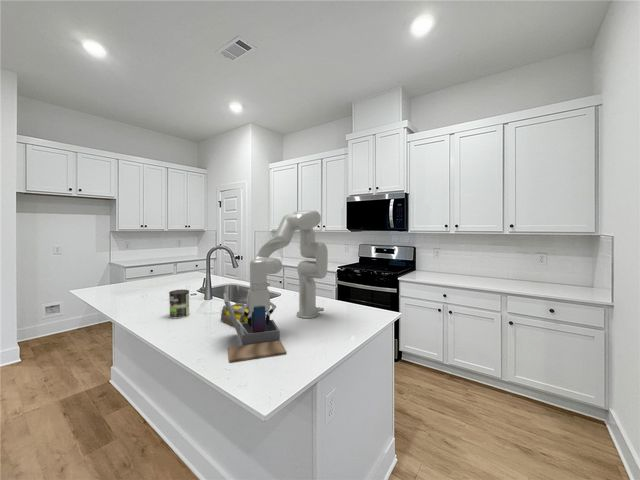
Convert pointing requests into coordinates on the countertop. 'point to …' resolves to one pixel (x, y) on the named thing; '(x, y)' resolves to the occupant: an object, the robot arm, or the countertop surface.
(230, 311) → the case lid
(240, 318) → the cage light
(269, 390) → the countertop surface
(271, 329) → the equipment case
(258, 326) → the cup
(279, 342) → the walnut board
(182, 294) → the coffee can
